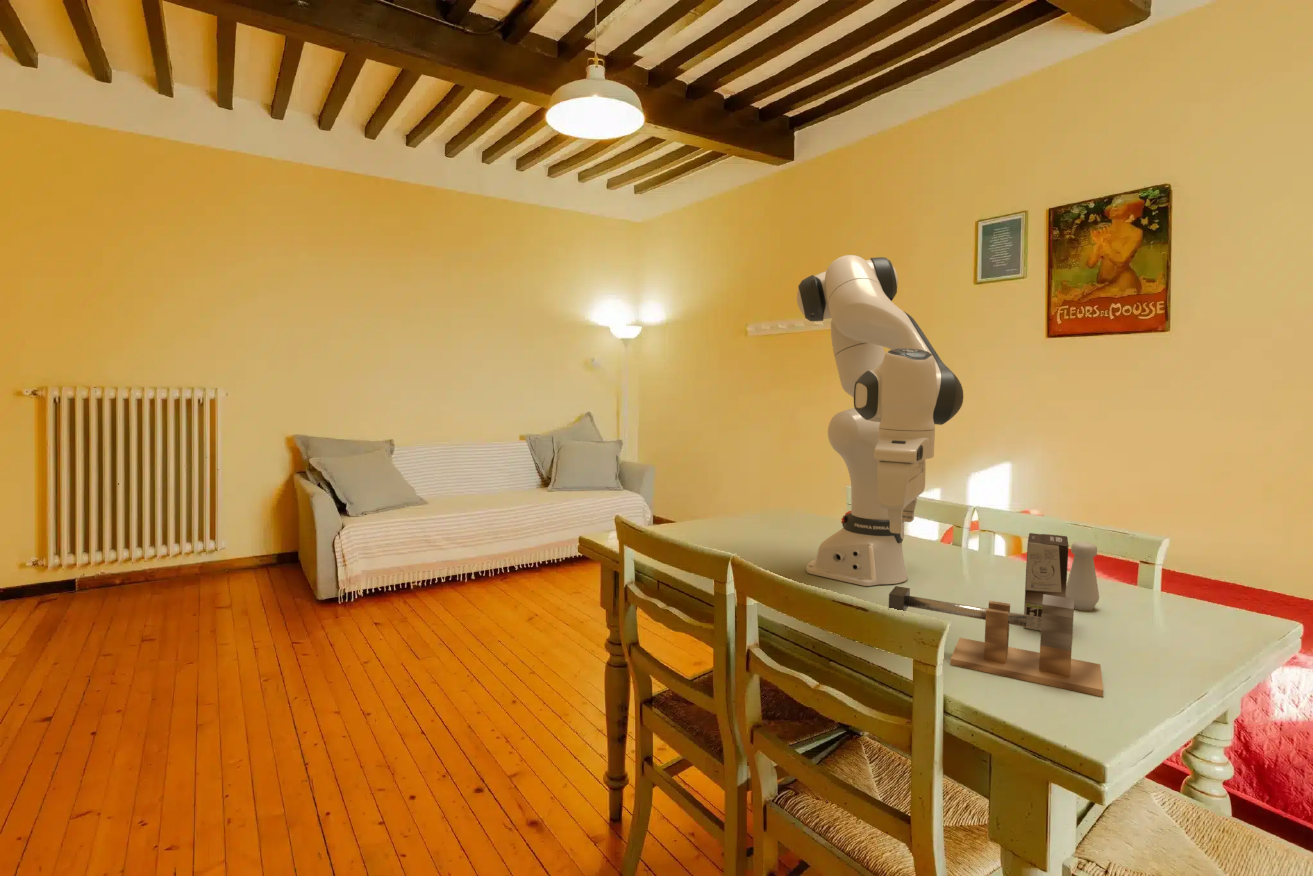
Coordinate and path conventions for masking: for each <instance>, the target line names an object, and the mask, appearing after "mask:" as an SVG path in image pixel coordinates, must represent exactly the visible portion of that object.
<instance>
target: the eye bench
mask: <svg viewBox="0 0 1313 876" xmlns="http://www.w3.org/2000/svg"><path fill="white" fill-rule="evenodd" d="M1074 611H1075V609H1074V599H1072V598H1066V597H1059V596H1052V595H1045V594H1043V602H1042V620H1041V631H1040V639H1039V640H1040V643H1039V651H1038V652H1036V651H1033V650H1028V649H1023V648H1016V647H1011V646H1009V638H1010V637H1009V636H1010V635H1009V634H1010V624H1008V612H1010V613H1011V603H1007V602H1006V603H1005V602H1001V601H995V600H989V601H988V607H987V608H986V620H985V621H984V622H985V624H984V625H985V626H984V627H985V628H984V641H980V640H974V639H969V638H963V637H959V638H958V641H957V643H956V645H955V647H954V650H953V652H952V655H951V657H950V666H954V665H957V666H956V667H960V668H964V667H965V669H969V670H973V669H974V671H978V670H980V671H979V672H984V673H989V674H993V675H997V676H1002V677H1008V678H1012V679H1016V680H1021V681H1026V682H1030V683H1036V684H1040V685H1044V686H1048V687H1049V686H1050V687H1053V688H1054V687H1055V688H1060V689H1064V690H1068V691H1073V692H1078V693H1082V694H1088V695H1093V696H1097V697H1101V698H1103V697H1104V685H1103V675H1102V665H1101V664H1100V663H1095V662H1092V661H1087V660H1086V661H1084V660H1079V659H1074V658H1072V651H1073V650H1072V649H1073V634H1074V633H1073V632H1074V631H1073V630H1074V615H1075V614H1074Z"/></svg>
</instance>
